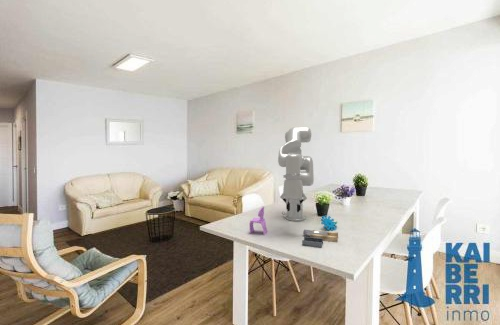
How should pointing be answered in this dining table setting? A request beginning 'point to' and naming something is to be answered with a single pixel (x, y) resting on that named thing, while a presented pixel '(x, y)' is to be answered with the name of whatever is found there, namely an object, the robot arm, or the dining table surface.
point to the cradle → (312, 242)
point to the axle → (314, 232)
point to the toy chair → (259, 221)
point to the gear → (329, 223)
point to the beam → (331, 236)
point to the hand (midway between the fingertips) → (293, 210)
